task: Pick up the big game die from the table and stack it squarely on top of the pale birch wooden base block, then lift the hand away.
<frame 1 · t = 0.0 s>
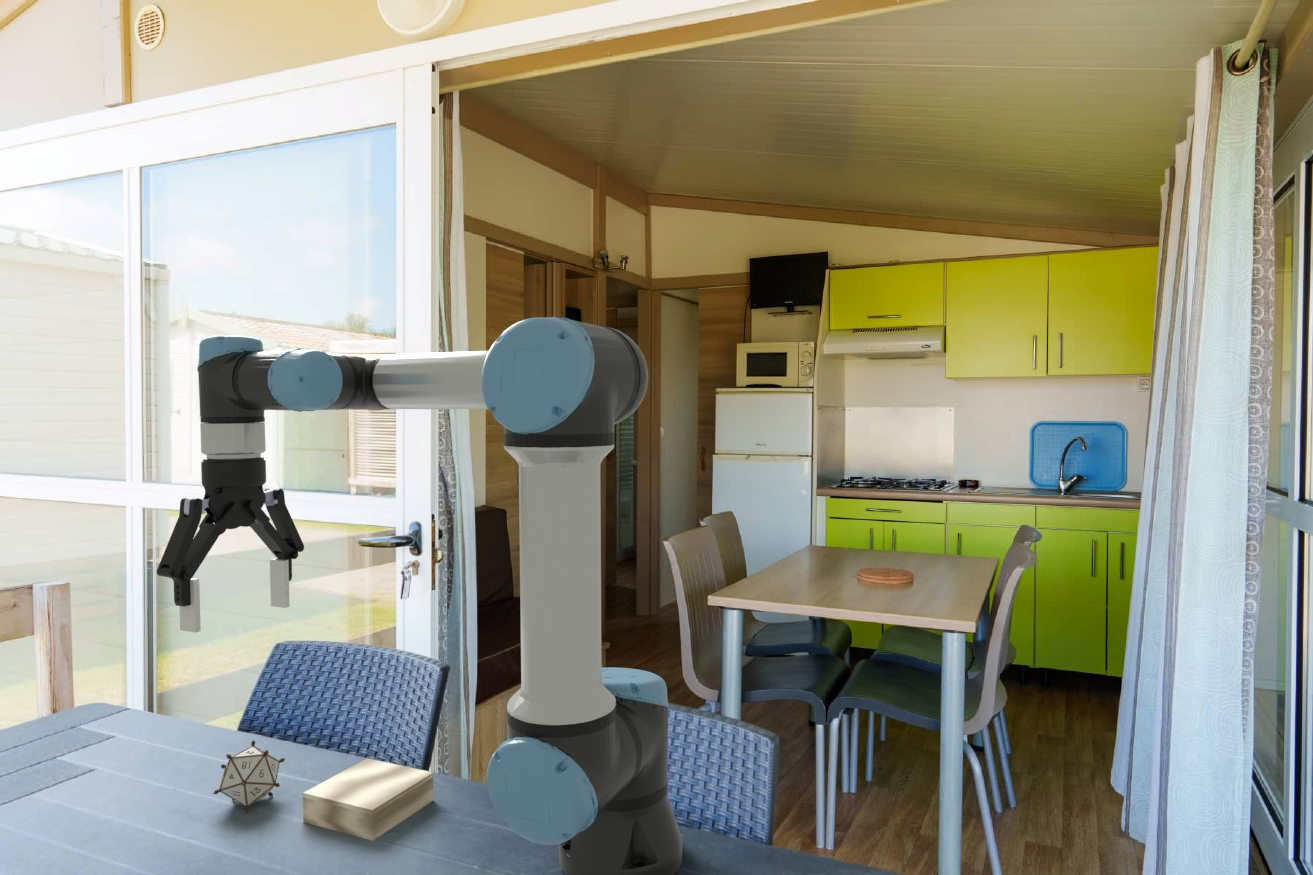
hand: (237, 618, 111), 28 cm above the table, tool pointing down, fingers open, 13 cm apart
game die: (250, 804, 119), on the table
birch base: (370, 810, 117), on the table
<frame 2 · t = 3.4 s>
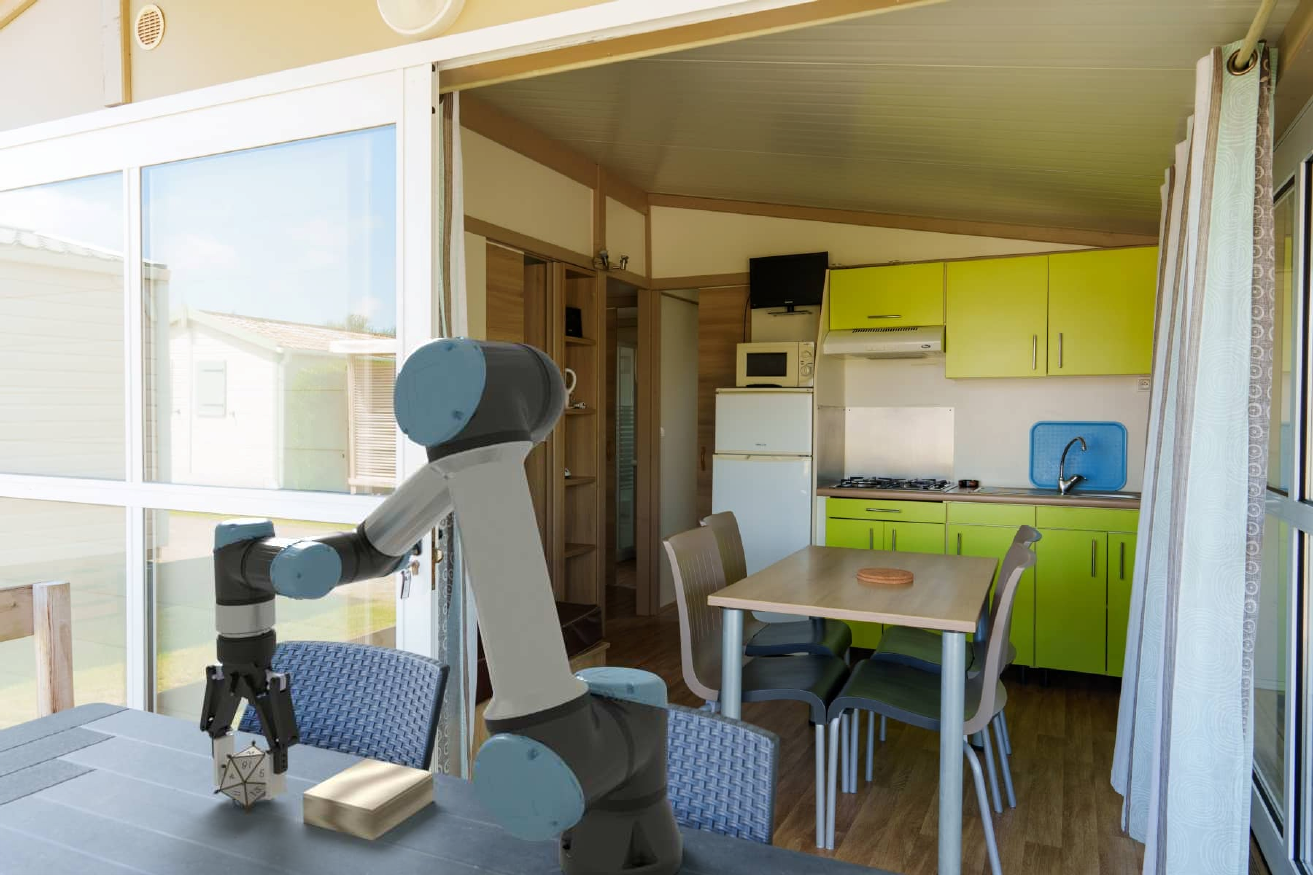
hand: (250, 788, 119), 2 cm above the table, tool pointing down, fingers closed on game die, 9 cm apart
game die: (251, 804, 119), on the table, touching gripper
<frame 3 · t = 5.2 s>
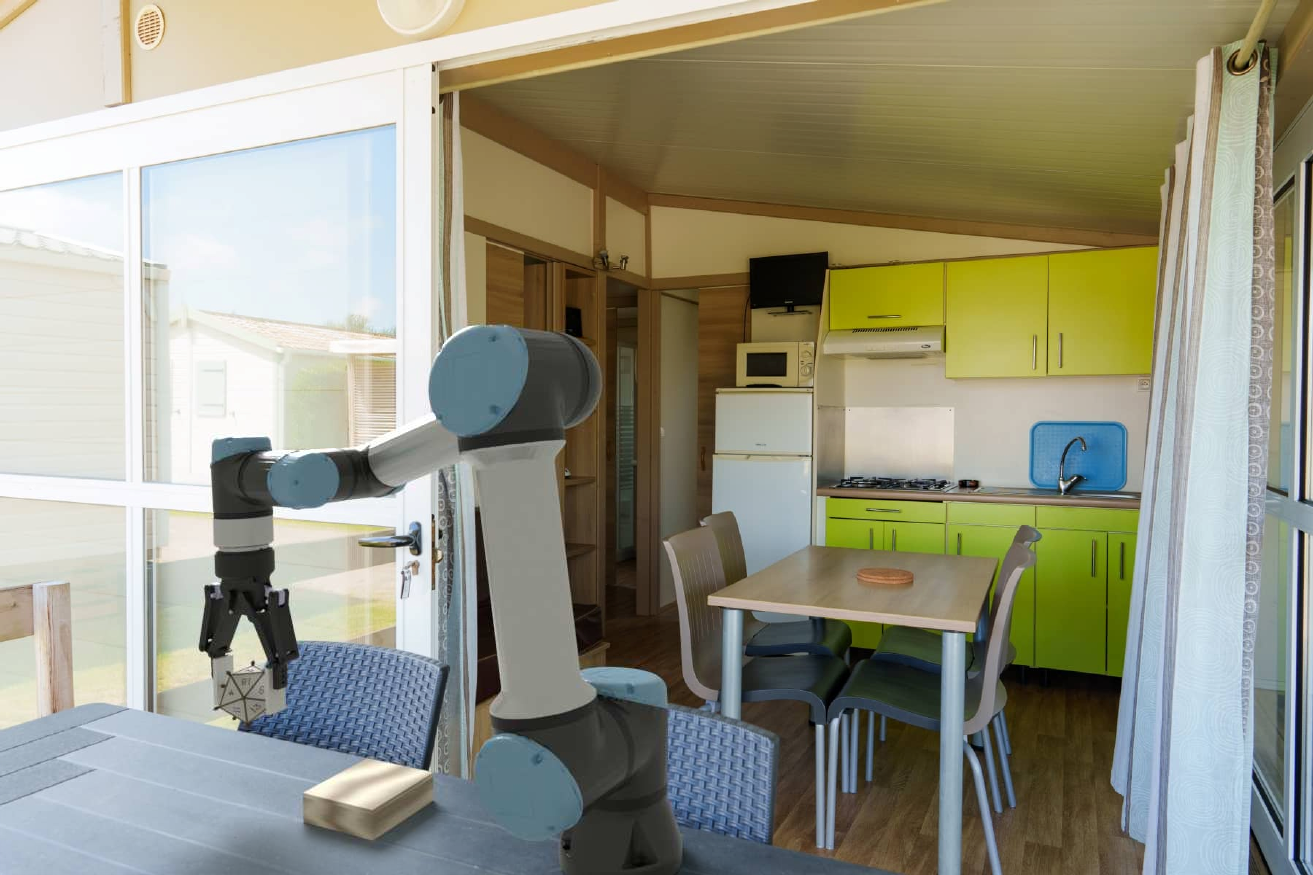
hand: (249, 706, 118), 14 cm above the table, tool pointing down, fingers closed on game die, 9 cm apart
game die: (251, 723, 118), point 11 cm above the table, touching gripper
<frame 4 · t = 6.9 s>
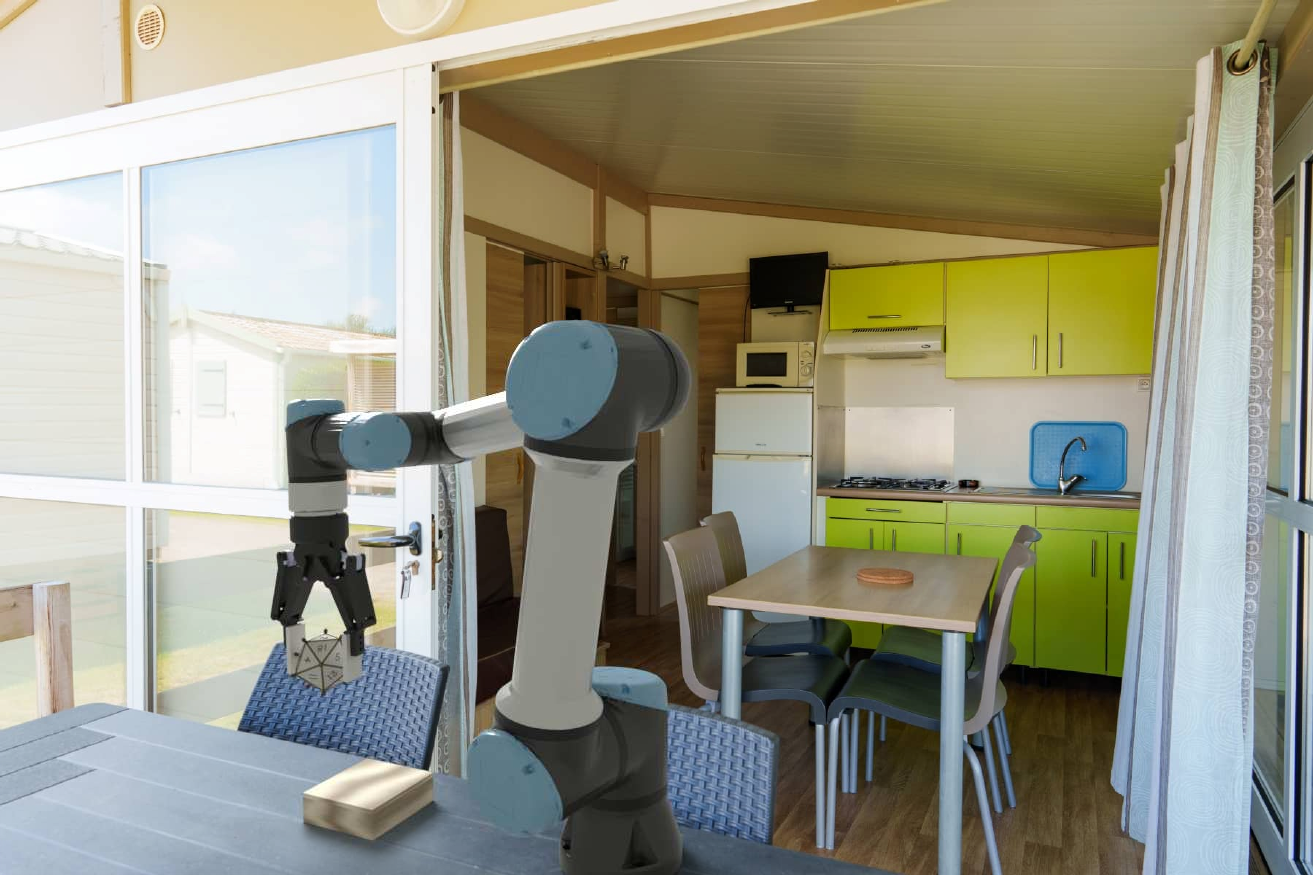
hand: (324, 675, 116), 19 cm above the table, tool pointing down, fingers closed on game die, 9 cm apart
game die: (325, 692, 116), point 16 cm above the table, touching gripper
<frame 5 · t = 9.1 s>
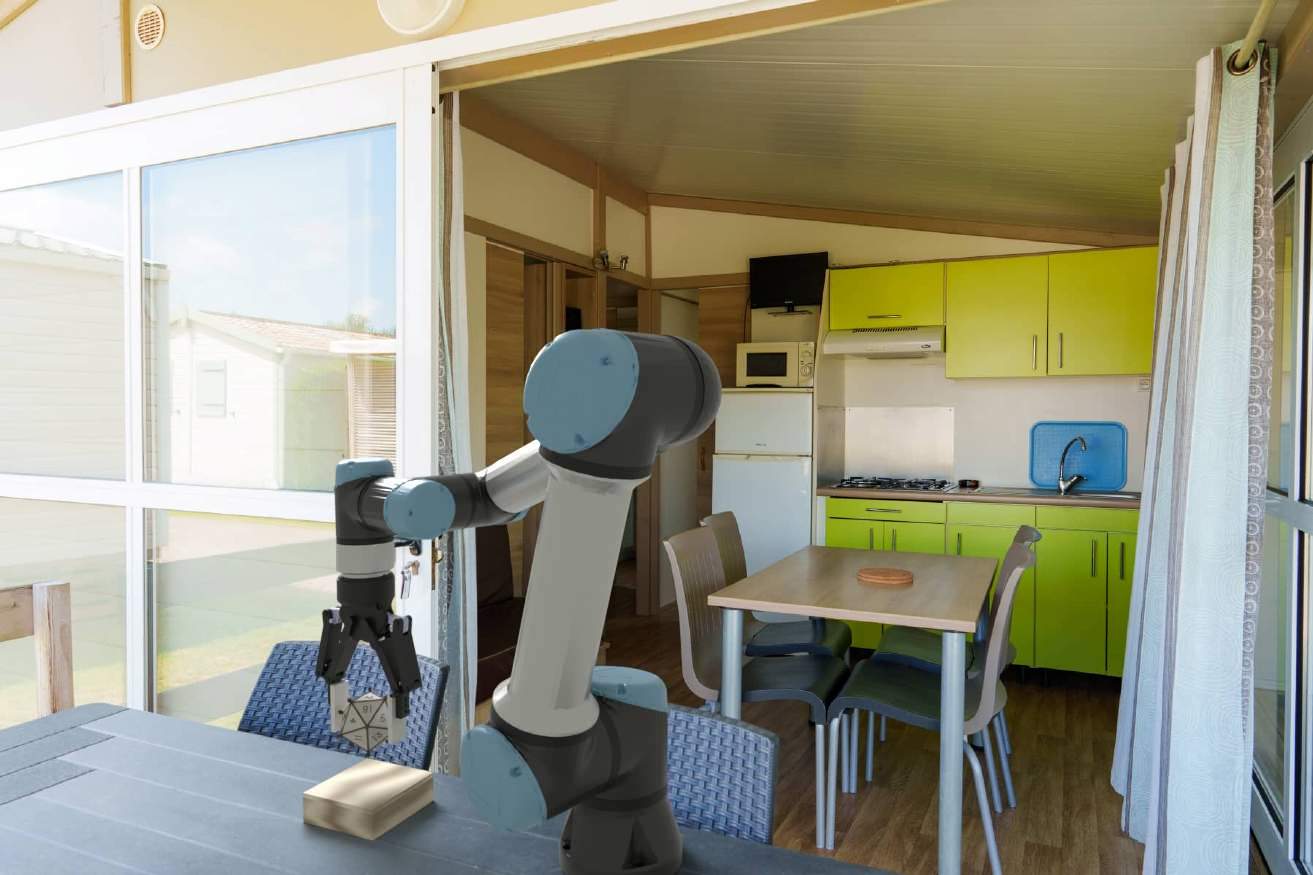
hand: (368, 734, 116), 11 cm above the table, tool pointing down, fingers closed on game die, 9 cm apart
game die: (369, 751, 116), point 8 cm above the table, touching gripper
when the fingers open (8 cm above the table, at t = 10.7 s): game die drops 1 cm, resting on birch base.
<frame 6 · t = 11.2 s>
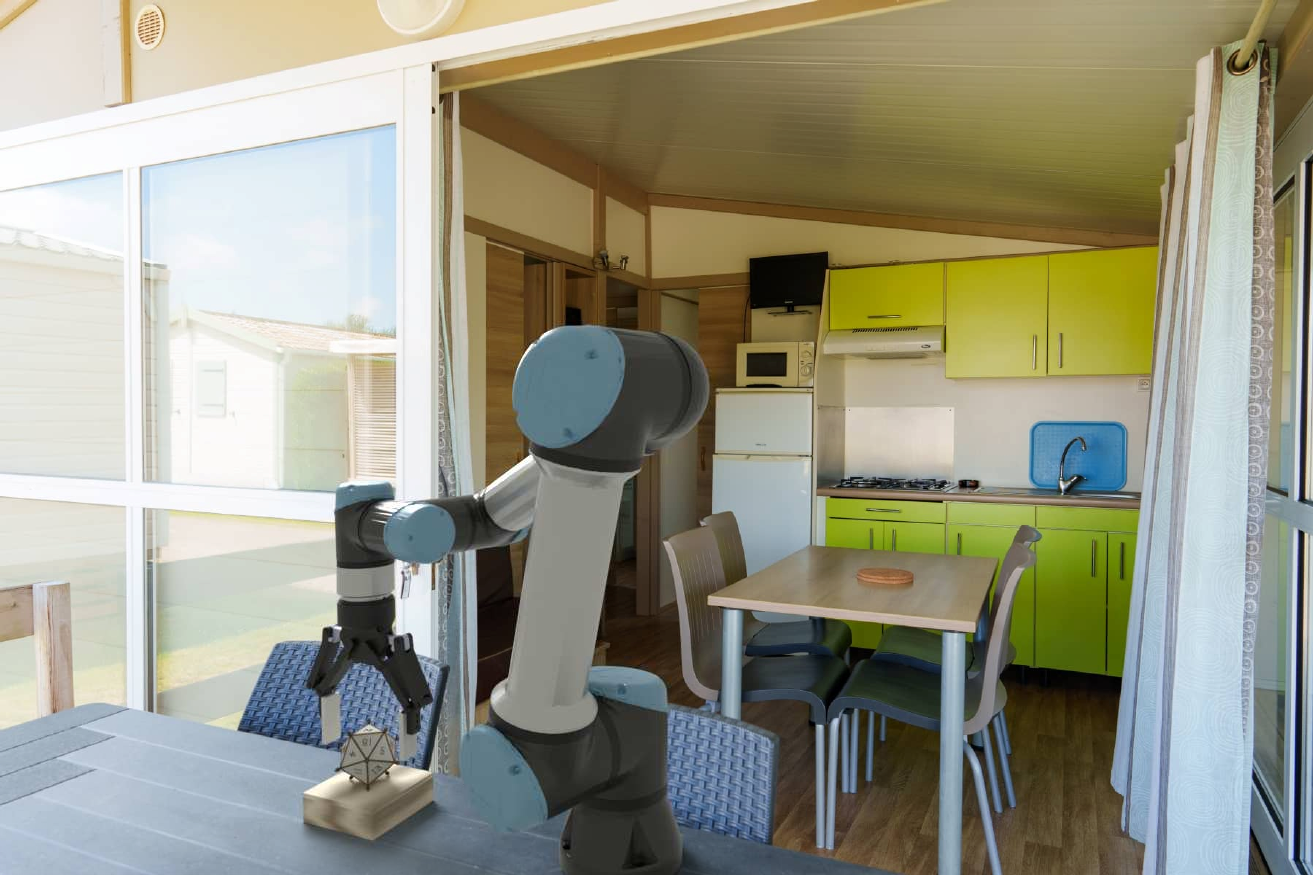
hand: (369, 748, 116), 9 cm above the table, tool pointing down, fingers open, 13 cm apart
game die: (369, 783, 117), point 4 cm above the table, touching birch base
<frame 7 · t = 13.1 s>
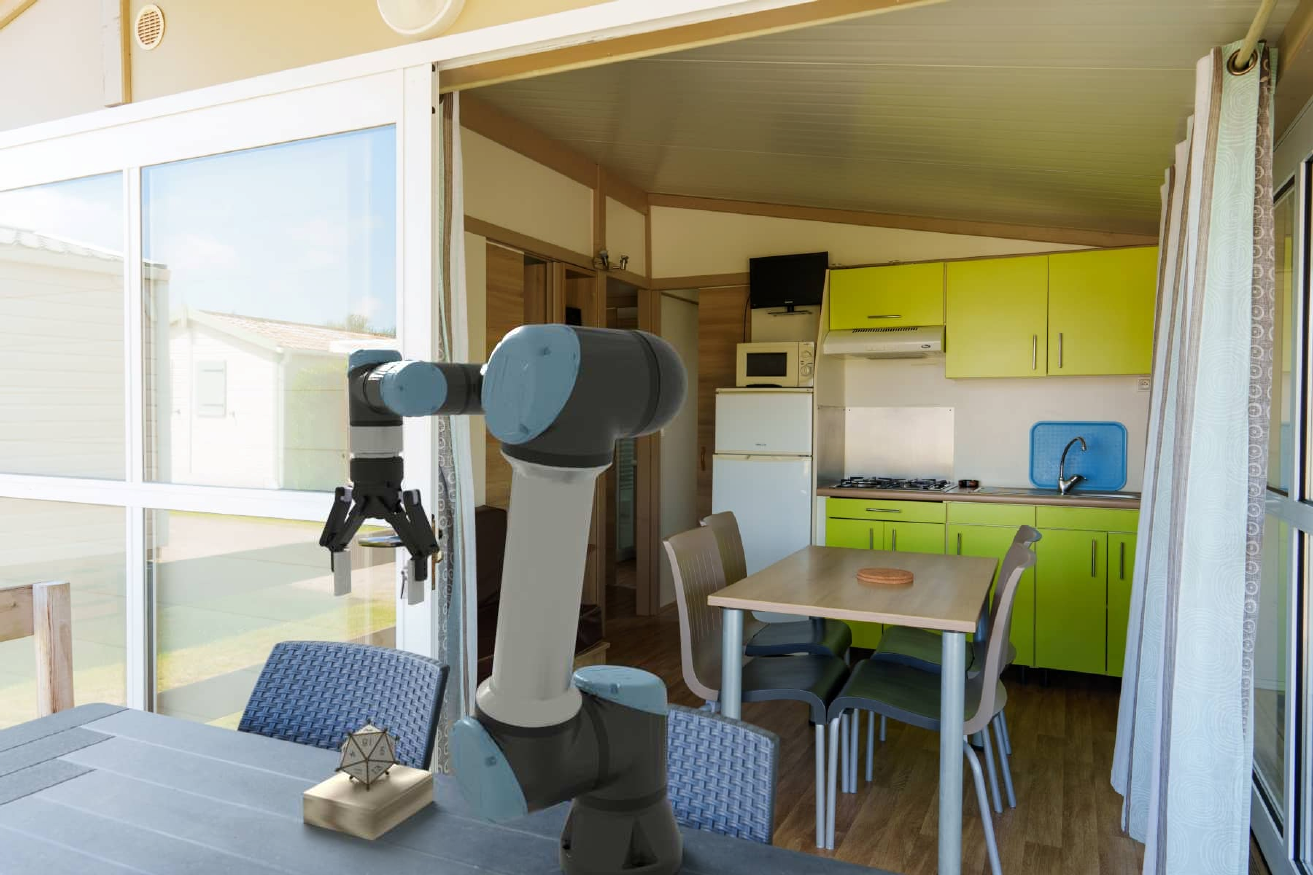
hand: (378, 598, 125), 27 cm above the table, tool pointing down, fingers open, 13 cm apart
nothing on the table moved.
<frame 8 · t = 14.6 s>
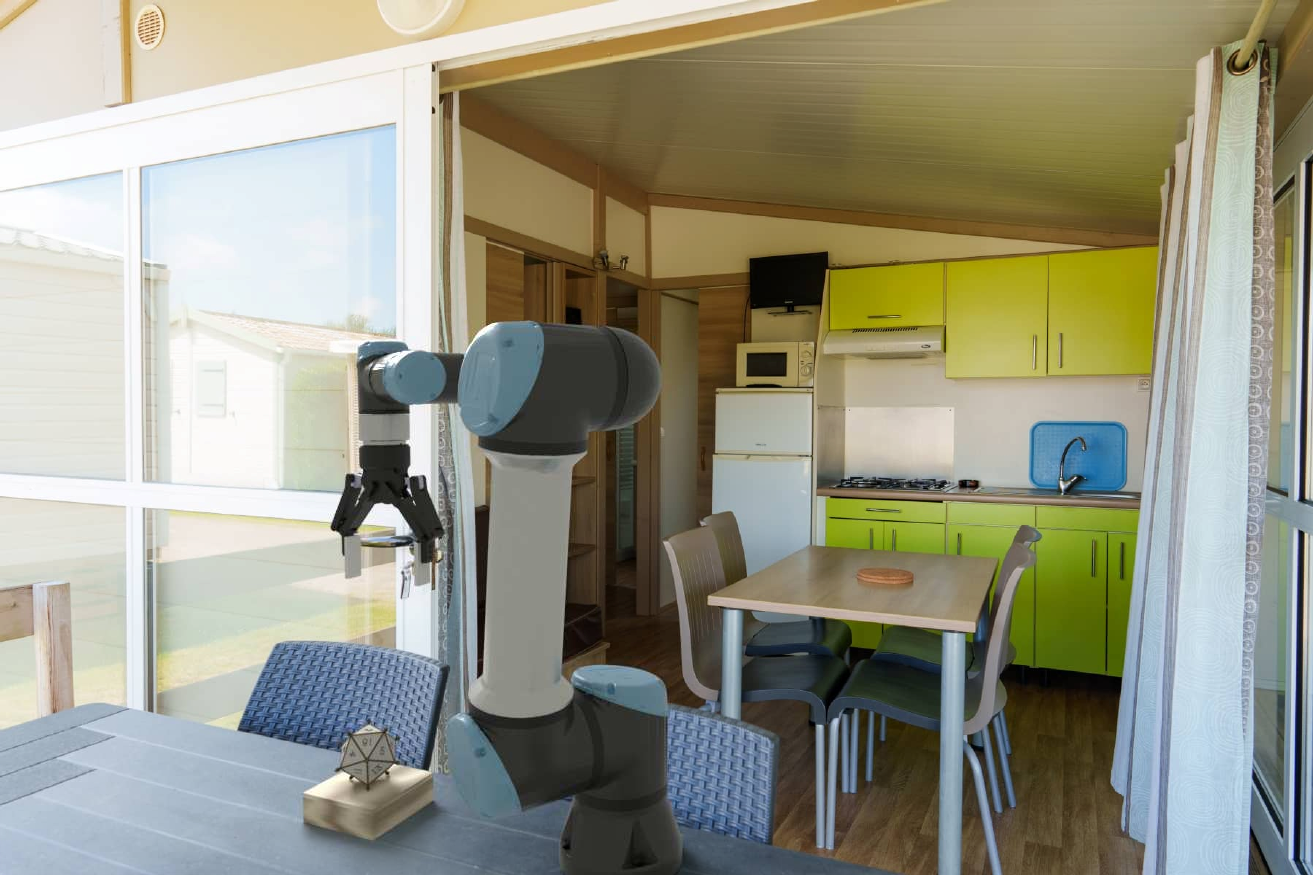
hand: (387, 580, 131), 29 cm above the table, tool pointing down, fingers open, 13 cm apart
nothing on the table moved.
at the end: game die 0.1 cm off-centre on the birch base, point 3.8 cm above the birch base's base; game die tilted 0°; the gripper is holding nothing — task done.
